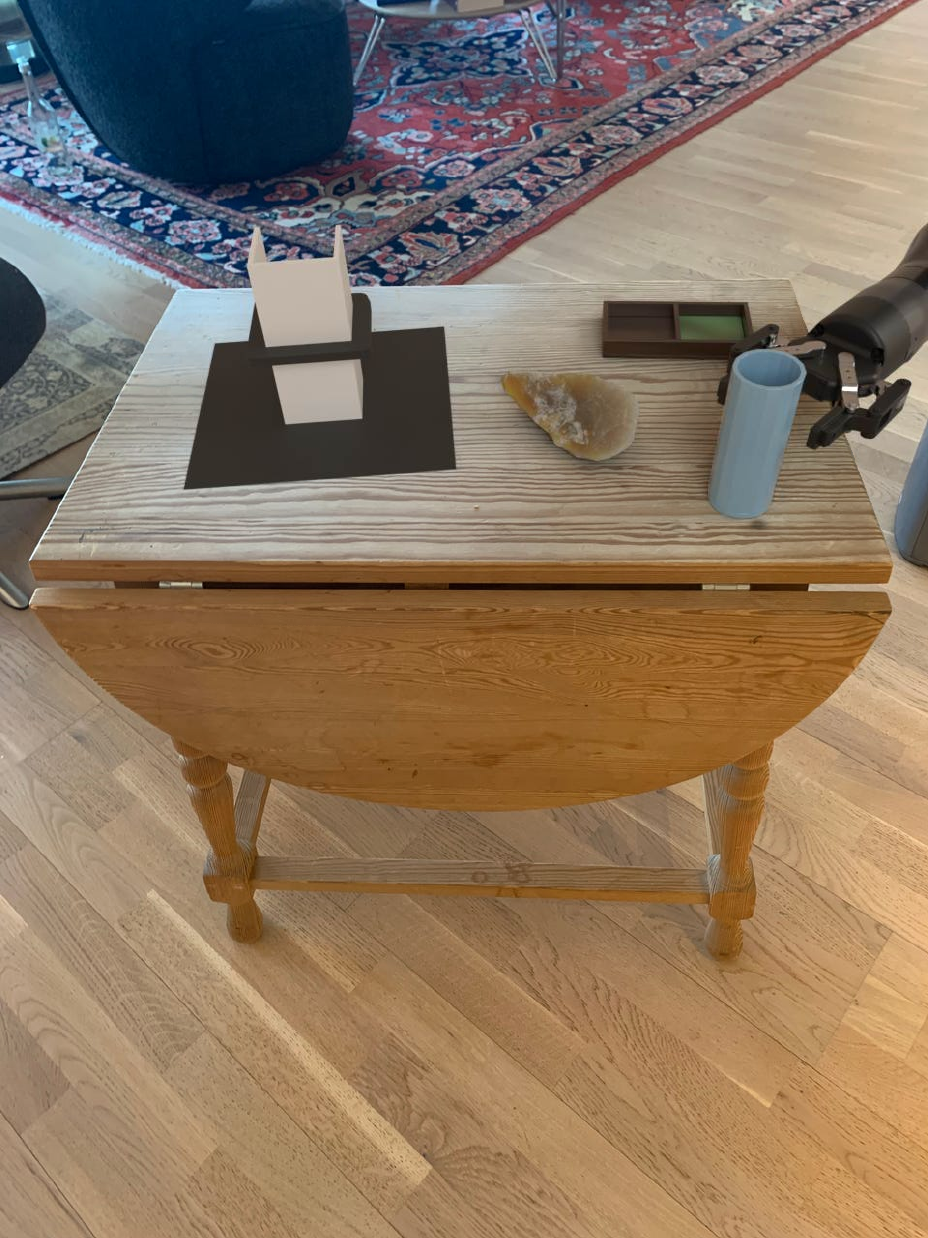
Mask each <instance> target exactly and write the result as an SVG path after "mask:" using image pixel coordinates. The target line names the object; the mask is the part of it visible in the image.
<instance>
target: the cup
mask: <svg viewBox="0 0 928 1238" xmlns="http://www.w3.org/2000/svg"><path fill="white" fill-rule="evenodd" d="M806 374H807V372H806V369H805V366H804V364H803V363H802V362H801V361H800V360H799V359H797V358H796V357H794V356H792V355H790V354H788V353H786V352H782V351H778V350H773V349H756V350H752V351H748V352H744V353H743V354H741V355H740V356H738V357H737V358H736V359H735V361H734V363H733V365H732V370H731V375H730V380H729V385H728V390H727V395H726V400H725V405H724V406H723V410H722V416H721V420H720V426H719V431H718V436H717V440H716V441H717V442H716V445H715V450H714V455H713V460H712V465H711V466H712V467H711V471H710V476H709V481H708V486H707V495H706V496H707V499H708V500H707V501H708V503H709V504H710V506H711V507H712V508H713V509H714V510H716V511H717V512H718V513H720V514H721V515H725V516H727V517H729V518H733V519H740V520H741V519H743V520H744V519H746V520H747V519H752V518H753V519H754V518H757V517H760V516H761V515H763V514H765V513H766V512H767V511H768V510H769V508H770V507H771V505H772V502H773V498H774V496H775V491H776V488H777V484H778V482H779V481H778V480H779V477H780V474H781V470H782V466H783V462H784V458H785V455H786V450H787V447H788V444H789V441H790V440H789V439H790V436H791V432H792V429H793V425H794V421H795V417H796V414H797V410H798V406H799V403H800V399H801V396H802V388H803V385H804V381H805V377H806Z"/></svg>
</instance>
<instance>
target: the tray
mask: <svg viewBox="0 0 928 1238" xmlns="http://www.w3.org/2000/svg"><path fill="white" fill-rule="evenodd" d="M601 320H602V321H601V326H602V327H601V331H602V332H601V333H602V334H601V335H602V337H601V338H602V339H601V340H602V342H601V344H602V345H601V349H602V352H601V353H602V355H601V357H602V358H604V359H605V358H607V359H662V360H663V359H664V360H665V359H668V360H669V359H671V360H727V361H728V359H729V354H730V349H731V346H733V345H734V344H736V343H738V342H739V341H741V340H743V339H744V338H746V337H748V336H749V335H751V334H753V333H754V332H755V331H754V326H753V322H752V315H751V310H750V306H749V301H687V300H686V301H681V300H680V301H678V300H677V301H675V300H603V304H602V319H601Z"/></svg>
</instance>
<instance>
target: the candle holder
mask: <svg viewBox="0 0 928 1238" xmlns="http://www.w3.org/2000/svg"><path fill="white" fill-rule="evenodd" d="M334 229H335V230H334V243H333V244H334V246H333V247H334V248H333V256H332V257H319V258H318V257H317V258H305V259H291V260H290V259H289V260H278V261H276V260H275V261H268V260H267V254H266V249H265V246H264V241H263V240H264V239H263V235H262V232H261V227H260V226H254V228H253V233H252V237H251V238H252V239H251V243H250V248H249V254H248V259H247V264H246V268H247V273H248V277H249V281H250V285H251V290H252V294H253V299H254V304H253V310H252V316H251V323H250V329H249V334H248V339H247V340H241V341H228V342H226V341H225V342H215V343H214V346H213V350H212V355H211V360H210V364H209V369H208V374H207V378H206V383H205V387H204V391H203V396H202V397H203V398H202V402H201V406H200V410H199V416H198V420H197V425H196V430H195V434H194V438H193V442H192V448H191V452H190V458H189V462H188V465H187V471H186V475H185V480H184V484H183V490H193V489H194V490H195V489H207V488H219V487H220V488H221V487H222V488H223V487H235V486H249V485H261V484H274V483H288V482H303V481H304V482H305V481H315V480H317V481H318V480H329V479H341V478H342V479H344V478H355V477H356V478H357V477H369V476H381V475H382V476H383V475H397V474H409V473H422V472H423V473H424V472H435V471H437V472H438V471H449V470H457V460H456V448H455V439H454V438H455V437H454V427H453V414H452V401H451V392H450V380H449V367H448V356H447V355H448V354H447V345H446V333H445V326H434V327H433V326H430V327H416V328H404V329H403V328H402V329H391V330H389V329H388V330H377V331H376V330H375V331H372V330H373V329H372V328H373V309H372V302H371V299H370V298H369V296H368V294H367V293H366V292H365V293H364V292H352V290H351V284H350V278H349V271H348V263H347V257H346V250H345V243H344V238H343V237H344V236H343V229H342V225H341V224H336V225H335V228H334Z"/></svg>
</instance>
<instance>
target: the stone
mask: <svg viewBox="0 0 928 1238" xmlns="http://www.w3.org/2000/svg"><path fill="white" fill-rule="evenodd" d="M500 384H501V386H502V388H503V391H504V394H506V395H507V396H508V397H510V398H511V399H512V400H513V401H514V402H515V403H516V405H517V406H518V407H519V408H520V409H521V410H522V411H523V412H525V413H526V414H527V415H528V416H529V417H530V419H531V420H532V421H533V422H534V424H536V425H538V426H539V427H540V428H541V429H542V430H543V431H544V432H546V433H547V434H549V436H550V438H551V440H552V443H553V445H554V446H557V447H559V448H561V449H563V450H565V451H567V453H568V454H570V455H572V456H574V457H575V458H577V459H580V460H581V459H582V460H586V461H595V462H601V461H602V462H603V461H607V460H609V459H612V458H614V457H615V456H617V455H620V454H621V453H623V452H625V450H627V449H628V448H630V446H631V445H632V443H634V441H635V439H636V433H637V430H638V423H639V415H640V410H639V409H640V408H639V401H638V399H637V398H636V396H635V394H634V393H633V392H631V391H630V390H629V389H627V388H624V387H622V386H620V385H617V384H615V383H613V382H611V381H607V380H605V379H603V378H602V377H601V376H599V375H593V374H590V373H584V374H576V373H573V372H564V373H561V374H557V373H551V374H550V373H548V374H547V373H544V372H542V371H537V370H528V369H527V370H525V369H524V370H509V369H508V371H506V372H505V373H504V374H503V375H502V376H501V378H500Z"/></svg>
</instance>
